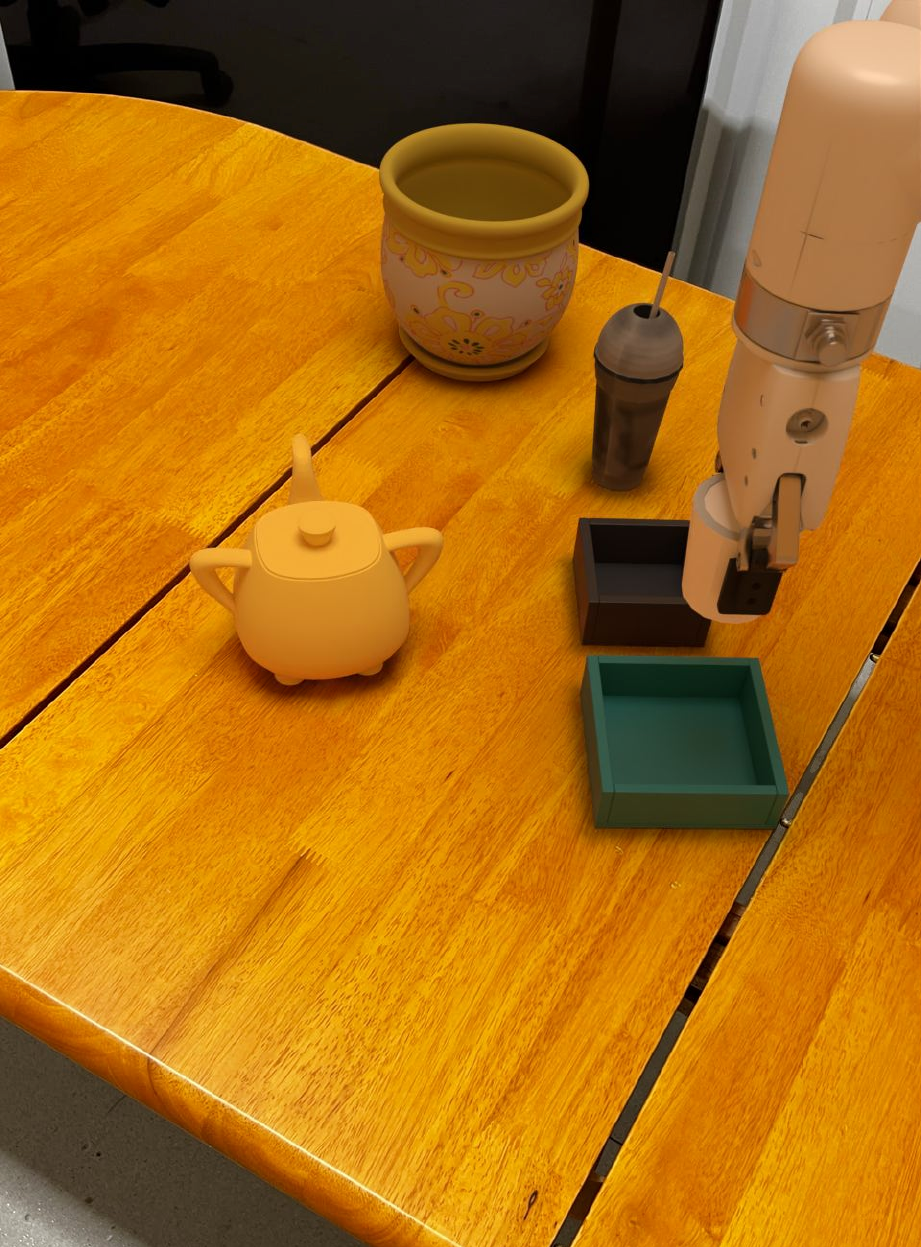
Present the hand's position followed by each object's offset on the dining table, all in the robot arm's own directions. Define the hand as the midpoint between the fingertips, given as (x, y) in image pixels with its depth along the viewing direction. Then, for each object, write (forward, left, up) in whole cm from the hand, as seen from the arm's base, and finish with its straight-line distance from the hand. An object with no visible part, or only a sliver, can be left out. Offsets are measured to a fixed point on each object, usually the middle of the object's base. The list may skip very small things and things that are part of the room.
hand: (733, 567), depth 79 cm
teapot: (+27, -11, -17) cm, 34 cm away
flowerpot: (+14, -49, -17) cm, 54 cm away
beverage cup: (+2, -30, -17) cm, 35 cm away
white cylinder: (0, 0, -2) cm, 2 cm away
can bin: (+2, -14, -17) cm, 22 cm away
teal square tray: (+1, +2, -17) cm, 17 cm away
